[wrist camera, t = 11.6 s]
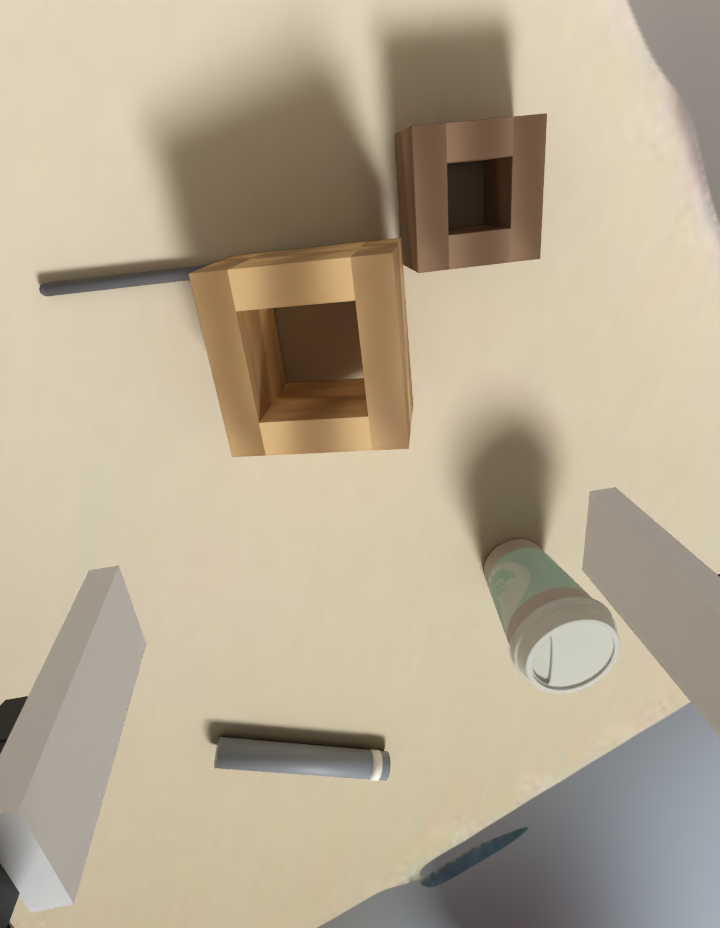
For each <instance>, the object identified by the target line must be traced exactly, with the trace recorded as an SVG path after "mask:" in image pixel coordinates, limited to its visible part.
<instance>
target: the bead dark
mask: <svg viewBox="0 0 720 928" xmlns="http://www.w3.org/2000/svg"><path fill="white" fill-rule="evenodd" d="M546 122H547V114H536V115H526V116H515V117H505V118H494V119H484V120H473V121H462V122H452V123H441V124H431V125H420V126H412V127H409V128H407V129H405V130H403V131H401V132H399V133H397V134H395V143H396V161H397V179H398V197H399V215H400V233H401V246H402V260H403V265H405V266H407V267H409V268H410V269H412V270H414V271H416V272H418V273H422V272H431V271H439V270H448V269H456V268H465V267H473V266H482V265H491V264H499V263H508V262H516V261H525V260H533V259H540V249H541V228H542V207H543V186H544V165H545V144H546ZM482 160H485V166H484V225H475V226H466V227H457V228H448V185H447V164H452V163H462V162H472V161H482Z"/></svg>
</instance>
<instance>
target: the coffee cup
mask: <svg viewBox="0 0 720 928" xmlns="http://www.w3.org/2000/svg"><path fill="white" fill-rule="evenodd" d="M484 575H485V578H486V581H487V584H488V587H489V590H490V593H491V595H492V598H493V601H494V604H495V607H496V609H497V612H498V615H499V618H500V621H501V623H502V626H503V629H504V632H505V634H506V637H507V640H508V643H509V645H510V646H509V655H510V659H511V662H512V664H513V666H514V667H515V668H516V669H517V670H518V672H519V673H520V674H521V675H522V676H523V677H524V678H525V679H527V680H528V681H530V682H531V683H532V684H533V685H534V686H535V687H536V688H538V689H540V690H542V691H545V692H548V693H555V694H562V693H570V692H575V691H578V690H581V689H584V688H586V687H588V686H590V685H592V684H593V683H595V682H596V681H598V680H599V679H601V678H602V677H603V676H604V675H605V674H606V673H607V672H608V671H609V670H610V669H611V667H612V666H613V665H614V663H615V661H616V659H617V657H618V654H619V650H620V640H619V637H618V634H617V628H616V624H615V621H614V619H613V617H612V615H611V613H610V611H609V610H608V609H607V607H606V606H604V605H603V604H602V603H600V602H599V601H597V600H595V599H592V598H591V597H590V596H589V595H588V594H587V593H586V592H585V591H584V590H583V589H582V588H581V587H580V586H579V585H578V584H577V583H576V582H575V581H574V580H573V579H572V578H571V577H570V576H569V575H568V574H567V573H566V572H565V571H564V570H563V569H562V568H561V567H559V566H558V565H557V564H556V563H555V562H554V561H553V560H552V559H551V558H550V557H549V556H548V555H547V554H546V553H545V552H544V551H543V550H542V549H541V548H540V547H539V546H538V545H537V544H535V543H534V542H532V541H530V540H526V539H513V540H509V541H506V542H504V543H502V544H500V545H499V546H497V547H496V548H495V549H494V550H493V551H492V552H491V553H490V554H489V555H488V557H487V559H486V561H485V564H484Z"/></svg>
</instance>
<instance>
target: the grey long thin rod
mask: <svg viewBox="0 0 720 928" xmlns="http://www.w3.org/2000/svg"><path fill="white" fill-rule="evenodd" d="M206 266H208V265H205V266H196V267H187V268H178V269H170V270H161V271H152V272H143V273H134V274H125V275H116V276H107V277H98V278H89V279H80V280H71V281H63V282H54V283H45V284H42V285H41V286H40V288H39V290H40V292H41V294H42V295H44V296H53V295H62V294H71V293H80V292H89V291H97V290H106V289H115V288H124V287H132V286H141V285H150V284H159V283H167V282H176V281H185V280H190V278H189V273H192V272H194V271H196V270H199V269H201V268H204V267H206Z"/></svg>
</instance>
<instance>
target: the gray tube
mask: <svg viewBox="0 0 720 928" xmlns="http://www.w3.org/2000/svg"><path fill="white" fill-rule="evenodd" d="M214 768H221V769H234V770H248V771H261V772H275V773H288V774H302V775H315V776H329V777H342V778H356V779H367V780H374V781H378V780H383V781H386V780H387V779H388V777H389V773H390V756H389V753H388V752H387V751H380V750H372V749H369V750H365V749H354V748H342V747H331V746H320V745H308V744H297V743H285V742H274V741H263V740H251V739H240V738H228V737H219V740H218V744H217V749H216V755H215V763H214Z"/></svg>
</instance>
